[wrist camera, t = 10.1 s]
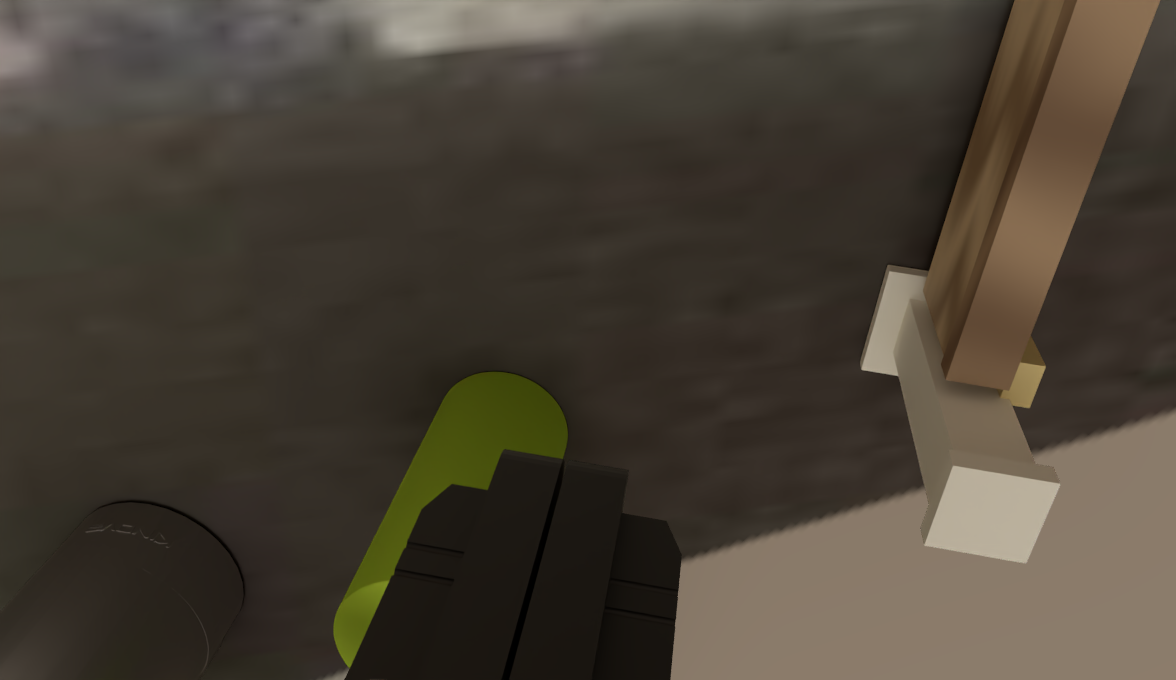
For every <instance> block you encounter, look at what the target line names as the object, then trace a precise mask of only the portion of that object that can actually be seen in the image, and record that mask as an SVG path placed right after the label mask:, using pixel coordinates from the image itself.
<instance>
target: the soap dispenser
mask: <svg viewBox="0 0 1176 680" xmlns="http://www.w3.org/2000/svg"><path fill="white" fill-rule="evenodd" d="M567 440H568V428H567V423H566V419H565V417H564V414H563V412H562V410H561V408H560V406H559V405H558V403H557V402H556V401H555V399H554V398H553V397H552V396H551V395H550V394H549V393H548V392H547V391H546V390H544V389H543V388H542V387H540V386H539V385H538V384H536V383H534V382H532V381H531V380H529V379H526V378H524V377H521V376H518V375H515V374H511V373H506V372H484V373H478V374H475V375H472V376H469V377H467V378H465V379H463V380H461V381H460V382H458V383H457V384H456V385H454V386H453V387H452V388H451V389H450V390H449V392H448V393H447V394H446V396H445V397H444V399H443V401H442V403H441V405H440V407H439V409H438V411H437V413H436V415H435V417H434V419H433V421H432V423H431V425H430V427H429V429H428V431H427V433H426V435H425V437H424V439H423V441H422V443H421V445H420V447H419V449H418V451H417V453H416V455H415V457H414V459H413V461H412V463H411V465H410V467H409V469H408V471H407V473H406V475H405V477H404V479H403V481H402V483H401V485H400V487H399V489H398V491H397V493H396V495H395V497H394V499H393V501H392V503H391V505H390V507H389V509H388V511H387V513H386V515H385V517H384V519H383V521H382V523H381V525H380V527H379V529H378V531H377V533H376V535H375V537H374V539H373V541H372V542H371V544H370V546H369V548H368V550H367V552H366V554H365V556H364V558H363V560H362V562H361V564H360V566H359V568H358V570H357V572H356V574H355V576H354V578H353V580H352V582H351V584H350V586H349V588H348V590H347V592H346V594H345V596H344V598H343V600H342V602H341V604H340V606H339V608H338V610H337V613H336V616H335V620H334V628H333V631H334V639H335V643H336V646H337V649H338V651H339V653H340V655H341V657H342V659H343V660H344V662H345V663H346V665H347V666H348V667H349V668H350V667H351V665H352V662H353V660H354V658H355V656H356V654H357V651H358V649H359V647H360V645H361V642H362V640H363V638H364V636H365V634H366V631H367V629H368V627H369V625H370V623H371V620H372V618H373V616H374V614H375V611H376V609H377V607H378V605H379V603H380V600H381V598H382V596H383V594H384V592H385V589H386V587H387V585H388V583H389V580H390V578H391V576H392V575H394V572H395V567H396V565H397V563H398V560H399V558H400V556H401V554H402V552H403V549H404V548H406V545H407V541H408V538H409V536H410V534H411V532H412V529H413V527H414V525H415V523H416V521H417V518H418V516H419V514H420V512H421V509H422V508H423V507H425V506H426V505H427V504H428V503H429V502H431V501H432V500H433V499H434V498H435V497H437V496H438V495H439V494H440V493H441V492H443V491H444V490H445V489H446V488H447V487H449V486H450V485H451V484H456V485H462V486H467V487H473V488H479V489H485V490H488V488H489V485H490V482H491V480H492V477H493V474H494V471H495V469H496V466H497V463H498V461H499V458H500V455H501V453H502V451H503V450H504V449H507V450H513V451H519V452H525V453H531V454H537V455H542V456H548V457H554V458H560V459H563V456H564V453H565V449H566V446H567Z"/></svg>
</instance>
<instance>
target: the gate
mask: <svg viewBox="0 0 1176 680" xmlns="http://www.w3.org/2000/svg"><path fill="white" fill-rule="evenodd" d="M1159 2H1160V0H1015V1H1014V4H1013V7H1012V10H1011V13H1010V16H1009V20H1008V23H1007V26H1006V29H1005V32H1004V35H1003V39H1002V42H1001V45H1000V48H999V51H998V54H997V58H996V61H995V64H994V67H993V70H992V73H991V77H990V80H989V83H988V86H987V89H986V92H985V95H984V99H983V102H982V105H981V108H980V111H979V114H978V118H977V121H976V124H975V127H974V130H973V133H972V137H971V140H970V143H969V146H968V149H967V152H966V156H965V159H964V162H963V165H962V168H961V171H960V175H959V178H958V181H957V184H956V187H955V190H954V194H953V197H952V200H951V203H950V206H949V209H948V213H947V216H946V219H945V222H944V225H943V228H942V232H941V235H940V238H939V241H938V244H937V247H936V251H935V254H934V257H933V260H932V263H931V266H930V269H929V273H928V276H927V279H926V282H925V285H924V288H923V293H924V296H925V299H926V302H927V305H928V308H929V311H930V315H931V318H932V321H933V324H934V327H935V330H936V333H937V336H938V339H939V342H940V346H941V349H942V352H943V355H944V356H943V359H942V362H941V367H942V370H943V373H944V376H945V380H948V381H954V382H960V383H966V384H972V385H978V386H984V387H990V388H995V389H1001V390H1007V391H1009V390H1010V387H1011V385H1012V382H1013V380H1014V377H1015V374H1016V372H1017V369H1018V367H1019V364H1020V361H1021V359H1022V356H1023V354H1024V351H1025V349H1026V346H1027V343H1028V341H1029V338H1030V336H1031V333H1032V330H1033V328H1034V325H1035V323H1036V320H1037V318H1038V315H1039V312H1040V310H1041V307H1042V305H1043V302H1044V299H1045V297H1046V294H1047V292H1048V289H1049V287H1050V284H1051V281H1052V279H1053V276H1054V274H1055V271H1056V268H1057V266H1058V263H1059V261H1060V258H1061V256H1062V253H1063V250H1064V248H1065V245H1066V243H1067V240H1068V237H1069V235H1070V232H1071V230H1072V227H1073V225H1074V222H1075V219H1076V217H1077V214H1078V212H1079V209H1080V206H1081V204H1082V201H1083V199H1084V196H1085V194H1086V191H1087V188H1088V186H1089V183H1090V181H1091V178H1092V175H1093V173H1094V170H1095V168H1096V165H1097V163H1098V160H1099V157H1100V155H1101V152H1102V150H1103V147H1104V144H1105V142H1106V139H1107V137H1108V134H1109V132H1110V129H1111V126H1112V124H1113V121H1114V119H1115V116H1116V113H1117V111H1118V108H1119V106H1120V103H1121V100H1122V98H1123V95H1124V93H1125V90H1126V88H1127V85H1128V82H1129V80H1130V77H1131V75H1132V72H1133V69H1134V67H1135V64H1136V62H1137V59H1138V57H1139V54H1140V51H1141V49H1142V46H1143V44H1144V41H1145V38H1146V36H1147V33H1148V31H1149V28H1150V26H1151V23H1152V20H1153V18H1154V15H1155V13H1156V10H1157V7H1158V5H1159Z"/></svg>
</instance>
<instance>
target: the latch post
mask: <svg viewBox="0 0 1176 680" xmlns="http://www.w3.org/2000/svg"><path fill="white" fill-rule="evenodd" d="M928 273H929V271H926V270H919V269H913V268H906V267H900V266H894V265H887V269H886V272H885V276H884V279H883V283H882V286H881V290H880V293H879V297H878V300H877V304H876V307H875V311H874V314H873V318H872V321H871V325H870V328H869V332H868V335H867V339H866V342H865V346H864V350H863V353H862V357H861V360H860V366H861V370H866V371H872V372H878V373H884V374H890V375H896V376H899V380H900V385H901V389H902V393H903V397H904V402H905V406H906V410H907V414H908V418H909V423H910V427H911V431H912V435H913V440H914V444H915V448H916V452H917V457H918V461H919V465H920V469H921V474H922V478H923V482H924V486H925V490H926V495H927V499H928V503H929V505H928V508H927V511H926V514H925V517H924V520H923V523H922V525H921V533H922V537H923V542H924V546H930V547H935V548H941V549H947V550H952V551H958V552H964V553H970V554H975V555H981V556H986V557H992V558H997V559H1003V560H1009V561H1015V562H1020V563H1027V561H1028V558H1029V556H1030V554H1031V551H1032V549H1033V547H1034V545H1035V542H1036V540H1037V538H1038V535H1039V533H1040V531H1041V528H1042V526H1043V524H1044V522H1045V519H1046V517H1047V515H1048V512H1049V510H1050V507H1051V505H1052V503H1053V500H1054V498H1055V496H1056V494H1057V491H1058V489H1059V487H1060V485H1061V483H1060V481H1059V479H1058V477H1057V474H1056V472H1055V469H1054V467H1050V466H1044V465H1038V464H1035V461H1034V459H1033V456H1032V454H1031V451H1030V449H1029V446H1028V444H1027V441H1026V439H1025V436H1024V434H1023V431H1022V429H1021V427H1020V424H1019V422H1018V419H1017V417H1016V414H1015V412H1014V409H1013V407H1012V405H1013V406H1019V407H1025V408H1030V406H1031V403H1032V401H1033V398H1034V395H1035V393H1036V390H1037V388H1038V385H1039V383H1040V380H1041V378H1042V375H1043V373H1044V370H1045V368H1046V366H1045V364H1044V362H1043V360H1042V358H1041V356H1040V353H1039V351H1038V349H1037V347H1036V345H1035V343H1034V341H1033V339H1032V337H1031V336H1030V338H1029V341H1028V343H1027V346H1026V349H1025V351H1024V354H1023V356H1022V359H1021V361H1020V364H1019V367H1018V369H1017V372H1016V374H1015V377H1014V380H1013V382H1012V385H1011V387H1010V390H1009V391H1007V390H1001V389H995V388H990V387H984V386H978V385H972V384H966V383H960V382H954V381H948V380H945V376H944V373H943V370H942V367H941V362H942V359H943V356H944V355H943V352H942V349H941V346H940V342H939V339H938V336H937V333H936V330H935V327H934V324H933V321H932V318H931V315H930V311H929V308H928V305H927V302H926V299H925V296H924V293H923V288H924V285H925V282H926V279H927V276H928Z"/></svg>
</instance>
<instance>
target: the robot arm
mask: <svg viewBox="0 0 1176 680" xmlns="http://www.w3.org/2000/svg"><path fill="white" fill-rule="evenodd" d="M628 473H629V470H625V469H620V468H614V467H608V466H602V465H596V464H591V463H585V462H579V461H573V460H569V461H568V463H567V467H566V470H565V474H564V459H560V458H554V457H548V456H542V455H537V454H531V453H525V452H519V451H513V450H507V449H504V450H503V451H502V453H501V455H500V458H499V461H498V463H497V466H496V469H495V471H494V474H493V477H492V480H491V482H490V485H489V488H488V490H485V489H479V488H473V487H467V486H462V485H456V484H451V485H450V486H449V487H447V488H446V489H445V490H444V491H443V492H441V493H440V494H439V495H438V496H437V497H435V498H434V499H433V500H432V501H431V502H429V503H428V504H427V505H426V506H425V507H423V508H422V509H421V512H420V514H419V516H418V518H417V521H416V523H415V525H414V527H413V529H412V532H411V534H410V536H409V538H408V541H407V545H406V548H404V549H403V552H402V554H401V556H400V558H399V560H398V563H397V565H396V567H395V572H394V575H392V576H391V578H390V580H389V583H388V585H387V587H386V589H385V592H384V594H383V596H382V598H381V600H380V603H379V605H378V607H377V609H376V611H375V614H374V616H373V618H372V620H371V623H370V625H369V627H368V629H367V631H366V634H365V636H364V638H363V640H362V642H361V645H360V647H359V649H358V651H357V654H356V656H355V658H354V660H353V662H352V665H351V667H350V669H349V671H348V674H347V676H346V678H345V679H344V680H670V677H671V665H672V655H673V644H674V633H675V620H676V611H677V600H678V597H677V596H678V588H679V578H680V567H681V556H682V554H681V552H680V550H679V548H678V546H677V543H676V541H675V539H674V537H673V534H672V532H671V530H670V528H669V526H668V523H667V521H663V520H658V519H652V518H646V517H640V516H635V515H629V514H623V513H622V512H623V506H624V499H625V493H626V486H627V480H628ZM563 476H564V478H563ZM243 597H244V593H243V582H242V579H241V576H240V573H239V570H238V568H237V566H236V564H235V563H234V561H233V559H232V557H231V556H230V554H229V553H228V552H227V550H226V549H225V548H224V547H223V546H222V545H221V544H220V542H219V541H218V540H217V539H216V538H215V537H213V536H212V535H211V534H210V533H209V532H207V531H206V530H205V529H204V528H203V527H201V526H199V525H198V524H196V523H195V522H193V521H191V520H190V519H188V518H187V517H185V516H182V515H180V514H178V513H175V512H173V511H171V510H168V509H165V508H162V507H158V506H154V505H150V504H143V503H133V502H128V503H116V504H111V505H108V506H105V507H102V508H99V509H98V510H96V511H94V512H93V513H91V514H90V515H88V516H87V517H86V518H85V519H84V521H83V522H82V523H81V524H80V525H79V526H78V527H77V528H76V529H75V531H74V532H73V533H72V534H71V535H70V536H69V537H68V538H67V539H66V540H65V542H64V543H63V544H62V545H61V546H60V547H59V548H58V549H57V550H56V551H55V552H54V554H53V555H52V556H51V557H50V558H49V559H48V560H47V561H46V562H45V563H44V565H43V566H42V567H41V568H40V569H39V570H38V571H37V572H36V573H35V574H34V575H33V576H32V577H31V578H30V579H29V581H28V582H27V583H26V584H25V585H24V586H23V587H22V588H21V589H20V590H19V592H18V593H17V594H16V595H15V596H14V597H13V598H12V599H11V600H10V602H9V603H8V604H7V605H6V606H5V607H4V608H3V609H2V610H1V612H0V680H200V679H201V677H202V675H203V674H204V672H205V671H206V669H207V667H208V666H209V664H210V662H211V661H212V659H213V658H214V656H215V654H216V653H217V651H218V649H219V648H220V646H221V645H222V639H223V638H224V636H225V635H226V633H227V631H228V630H229V628H230V626H231V625H232V623H233V621H234V620H235V618H236V616H237V615H238V613H239V611H240V610H241V606H242V602H243Z"/></svg>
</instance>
